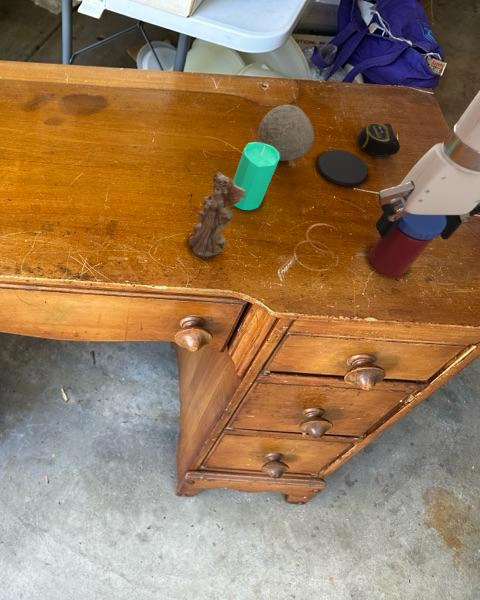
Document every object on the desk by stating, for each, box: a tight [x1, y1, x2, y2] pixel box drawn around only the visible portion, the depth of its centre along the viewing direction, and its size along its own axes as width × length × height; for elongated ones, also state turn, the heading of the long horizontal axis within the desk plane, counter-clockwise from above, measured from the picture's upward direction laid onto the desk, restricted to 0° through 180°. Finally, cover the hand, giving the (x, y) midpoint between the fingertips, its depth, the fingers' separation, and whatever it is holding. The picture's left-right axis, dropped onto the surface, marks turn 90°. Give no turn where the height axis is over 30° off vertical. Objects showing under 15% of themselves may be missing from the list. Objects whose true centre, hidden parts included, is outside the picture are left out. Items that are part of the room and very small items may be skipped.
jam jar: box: [368, 225, 435, 277], centre depth 91 cm, size 6×6×10 cm
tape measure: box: [357, 122, 401, 157], centre depth 110 cm, size 7×7×4 cm
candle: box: [233, 141, 280, 211], centre depth 98 cm, size 6×6×12 cm
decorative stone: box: [257, 103, 315, 162], centre depth 105 cm, size 10×8×10 cm
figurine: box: [188, 171, 246, 259], centre depth 90 cm, size 7×6×15 cm
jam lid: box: [396, 204, 447, 240], centre depth 87 cm, size 7×7×2 cm
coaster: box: [317, 149, 368, 187], centre depth 108 cm, size 9×9×1 cm
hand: (410, 232), depth 89 cm, fingers open, 9 cm apart
